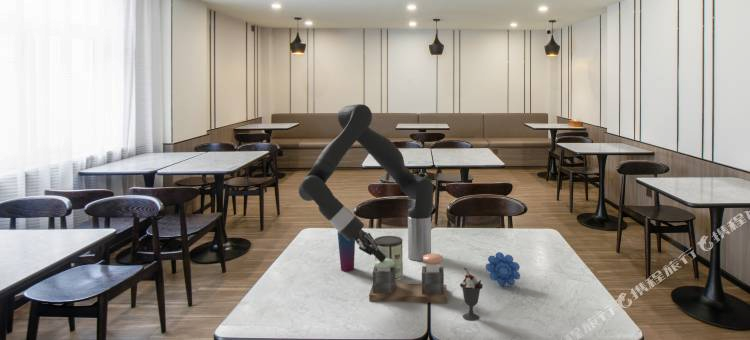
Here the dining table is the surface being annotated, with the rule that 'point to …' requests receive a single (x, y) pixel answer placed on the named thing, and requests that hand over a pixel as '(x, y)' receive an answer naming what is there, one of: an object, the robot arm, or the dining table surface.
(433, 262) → the button
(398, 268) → the coffee can
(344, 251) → the cup
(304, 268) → the dining table surface
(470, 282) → the sundae
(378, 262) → the button
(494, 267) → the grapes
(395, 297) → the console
